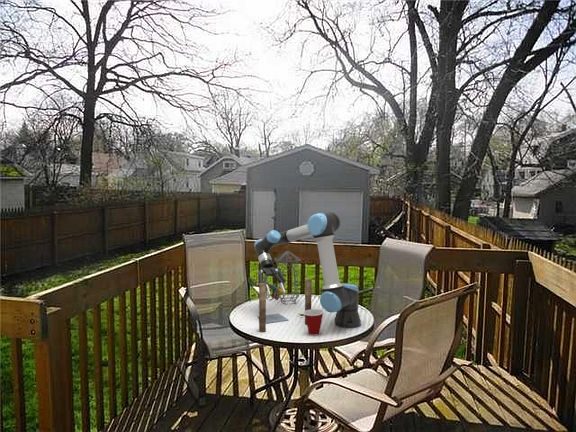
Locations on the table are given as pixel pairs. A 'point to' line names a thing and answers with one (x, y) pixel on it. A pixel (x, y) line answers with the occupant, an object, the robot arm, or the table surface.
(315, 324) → the plastic cup
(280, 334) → the table surface
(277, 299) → the binoculars
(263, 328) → the post gap
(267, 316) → the grey mat
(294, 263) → the geometric lantern
